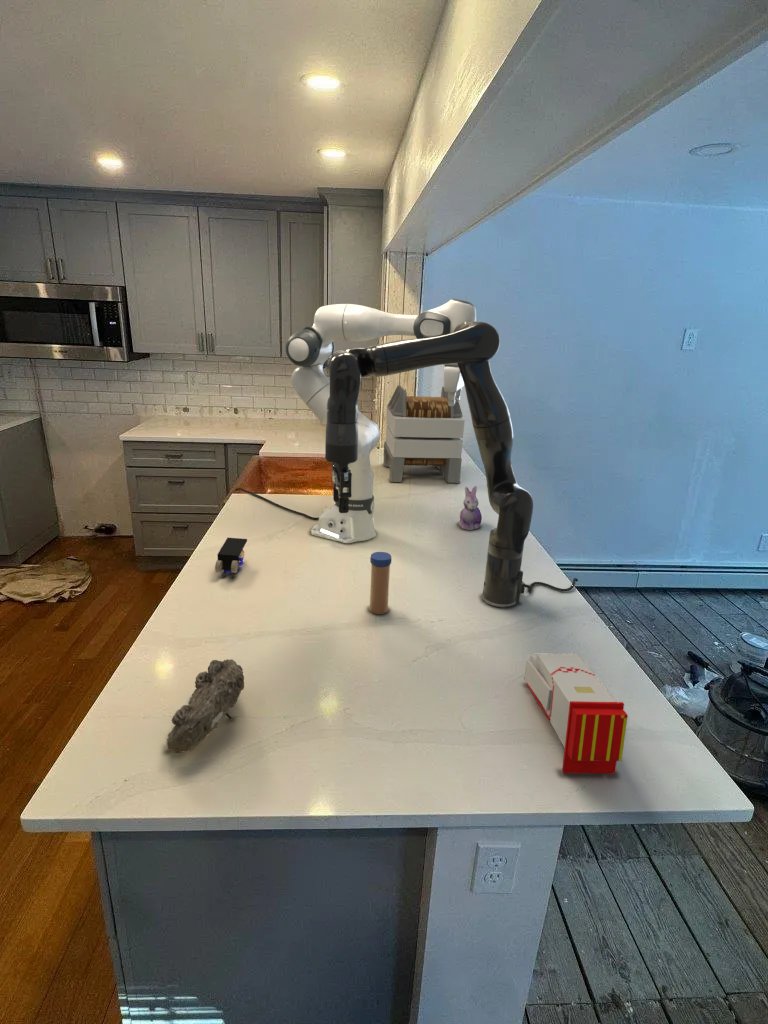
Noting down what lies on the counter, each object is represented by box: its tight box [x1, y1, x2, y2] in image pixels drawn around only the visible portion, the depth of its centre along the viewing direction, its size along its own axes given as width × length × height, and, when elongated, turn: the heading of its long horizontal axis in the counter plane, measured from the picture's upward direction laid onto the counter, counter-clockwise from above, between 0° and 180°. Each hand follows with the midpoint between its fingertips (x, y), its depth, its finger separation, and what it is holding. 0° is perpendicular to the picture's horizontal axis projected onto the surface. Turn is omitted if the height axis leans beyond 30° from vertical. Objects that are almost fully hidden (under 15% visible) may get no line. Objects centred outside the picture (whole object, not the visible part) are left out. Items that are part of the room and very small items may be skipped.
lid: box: [369, 551, 392, 567], centre depth 144 cm, size 5×5×2 cm
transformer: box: [383, 384, 465, 484], centre depth 268 cm, size 34×33×41 cm
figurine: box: [458, 485, 483, 531], centre depth 207 cm, size 9×10×15 cm
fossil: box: [166, 658, 245, 754], centre depth 106 cm, size 22×10×15 cm
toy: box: [523, 652, 628, 775], centre depth 110 cm, size 12×13×30 cm
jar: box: [369, 563, 391, 615], centre depth 147 cm, size 5×5×15 cm
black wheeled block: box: [214, 537, 248, 578], centre depth 166 cm, size 7×8×15 cm
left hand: (454, 403), depth 174 cm, fingers open, 8 cm apart
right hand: (340, 506), depth 137 cm, fingers open, 8 cm apart
